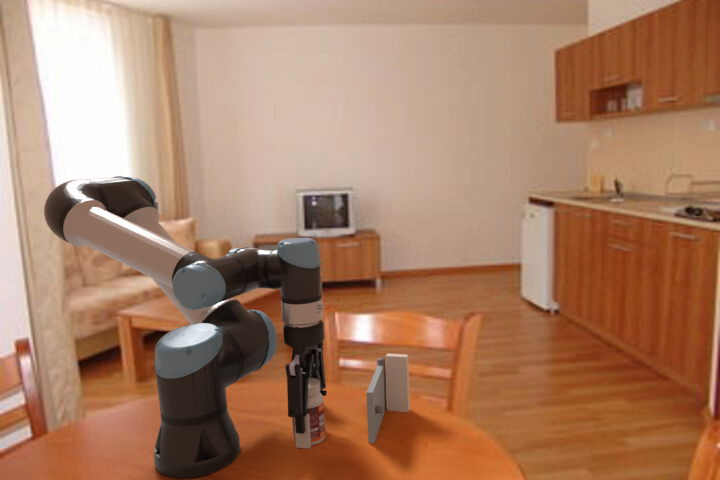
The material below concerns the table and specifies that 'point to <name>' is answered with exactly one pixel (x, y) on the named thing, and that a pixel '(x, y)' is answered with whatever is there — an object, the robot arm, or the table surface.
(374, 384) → the door
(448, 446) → the table surface
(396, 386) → the wall frame
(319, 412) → the pill bottle
